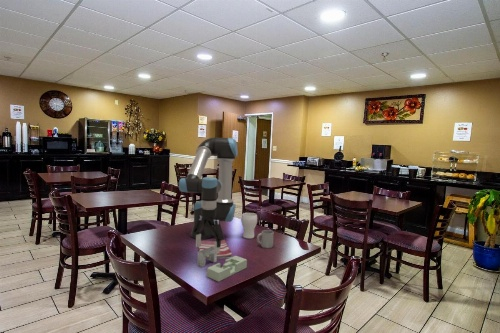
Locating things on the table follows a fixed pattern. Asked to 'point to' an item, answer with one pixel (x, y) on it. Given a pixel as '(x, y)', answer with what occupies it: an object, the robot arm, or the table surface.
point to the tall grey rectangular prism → (204, 253)
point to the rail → (226, 268)
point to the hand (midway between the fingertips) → (207, 250)
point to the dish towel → (224, 248)
